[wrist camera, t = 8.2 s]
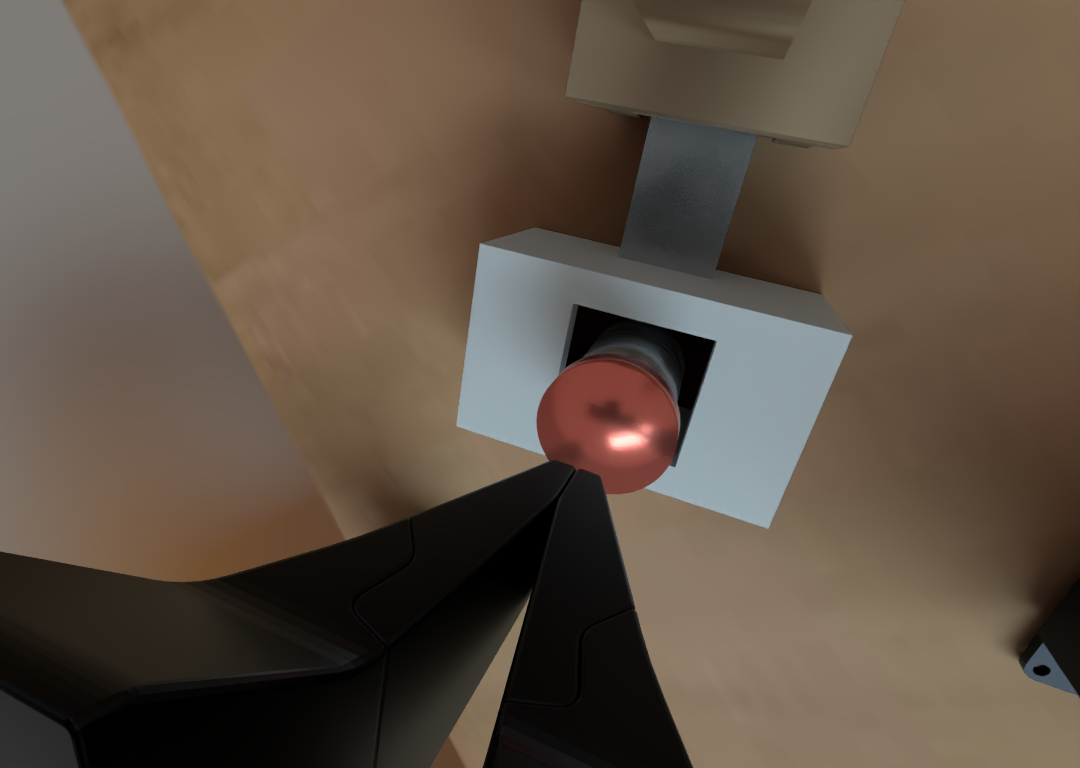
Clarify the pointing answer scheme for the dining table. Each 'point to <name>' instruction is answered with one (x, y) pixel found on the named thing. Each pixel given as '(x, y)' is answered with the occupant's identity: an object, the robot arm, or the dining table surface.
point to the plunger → (617, 407)
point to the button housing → (672, 302)
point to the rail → (685, 196)
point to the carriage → (735, 63)
